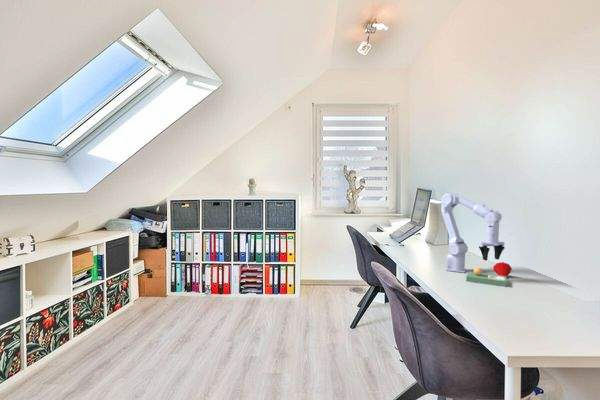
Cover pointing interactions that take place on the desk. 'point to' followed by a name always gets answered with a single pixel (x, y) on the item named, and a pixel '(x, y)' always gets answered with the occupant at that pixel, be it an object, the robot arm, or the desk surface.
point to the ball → (478, 271)
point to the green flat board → (487, 279)
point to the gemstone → (502, 269)
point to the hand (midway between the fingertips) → (490, 259)
